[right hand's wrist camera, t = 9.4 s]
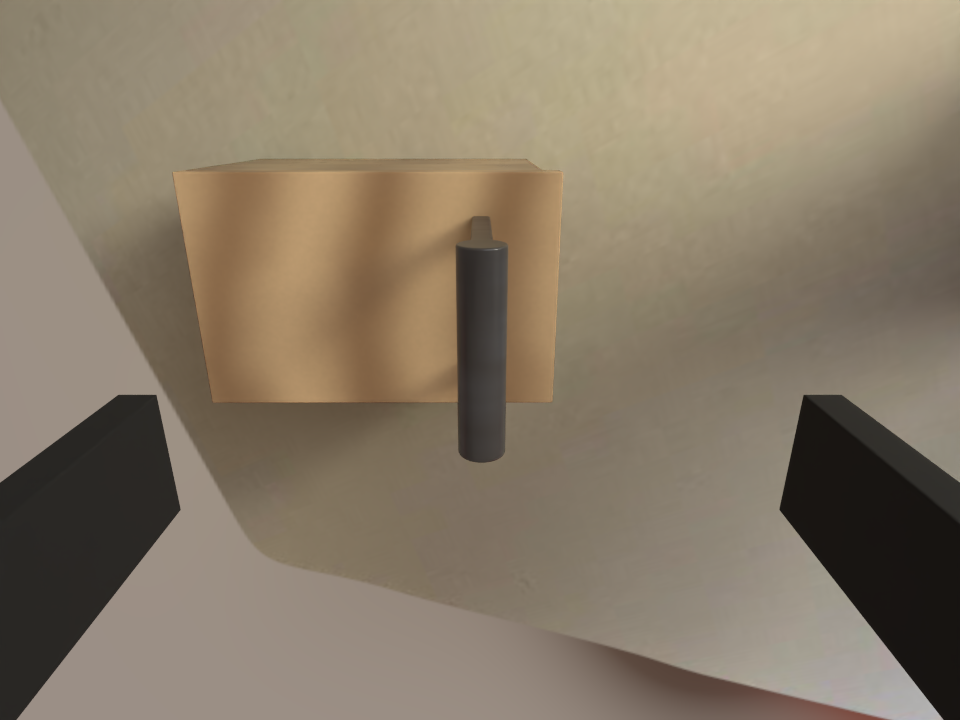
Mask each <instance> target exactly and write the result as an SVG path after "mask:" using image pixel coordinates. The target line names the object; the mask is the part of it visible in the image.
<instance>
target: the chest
mask: <svg viewBox="0 0 960 720" xmlns="http://www.w3.org/2000/svg"><path fill="white" fill-rule="evenodd" d="M185 171H543V170H541V169H540V168H538V167H537V166H535V165H534V164H532V163H531V162H530V161H528V160H527V159H258V160H252V161H245V162H238V163H231V164H225V165H218V166H211V167H205V168H198V169H191V170H185Z"/></svg>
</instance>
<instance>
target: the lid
mask: <svg viewBox="0 0 960 720" xmlns="http://www.w3.org/2000/svg"><path fill="white" fill-rule="evenodd" d="M172 174H173V180H174V185H175V191H176V197H177V202H178V208H179V214H180V220H181V225H182V231H183V237H184V242H185V248H186V254H187V259H188V265H189V271H190V277H191V282H192V288H193V294H194V299H195V305H196V311H197V316H198V322H199V328H200V334H201V339H202V345H203V351H204V356H205V362H206V368H207V373H208V379H209V385H210V390H211V396H212V402H213V403H317V402H458V450H459V453H460V455H461V456H462V457H463V458H465V459H466V460H469V461H473V462H491V461H495V460H497V459H499V458H500V457H502V456H503V454H504V452H505V418H506V402H552V398H553V377H554V356H555V335H556V314H557V293H558V272H559V251H560V230H561V209H562V188H563V172H561V171H177V172H173V173H172Z"/></svg>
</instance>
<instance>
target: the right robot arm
mask: <svg viewBox="0 0 960 720" xmlns="http://www.w3.org/2000/svg"><path fill="white" fill-rule="evenodd" d="M779 510H780V511H781V512H782V514H783V515H784V516H785V517H786V519H787V520H788V521H789V523H790V524H791V525H792V526H793V528H794V529H795V530H796V532H797V533H798V534H799V535H800V537H801V538H802V539H803V540H804V542H805V543H806V544H807V546H808V547H809V548H810V549H811V551H812V552H813V553H814V555H815V556H816V557H817V558H818V560H819V561H820V562H821V563H822V565H823V566H824V567H825V569H826V570H827V571H828V572H829V574H830V575H831V576H832V578H833V579H834V580H835V581H836V583H837V584H838V585H839V587H840V588H841V589H842V590H843V592H844V593H845V594H846V595H847V597H848V598H849V599H850V601H851V602H852V603H853V604H854V606H855V607H856V608H857V610H858V611H859V612H860V613H861V615H862V616H863V617H864V619H865V620H866V621H867V622H868V624H869V625H870V626H871V627H872V629H873V630H874V631H875V633H876V634H877V635H878V636H879V638H880V639H881V640H882V642H883V643H884V644H885V645H886V647H887V648H888V649H889V650H890V652H891V653H892V654H893V656H894V657H895V658H896V659H897V661H898V662H899V663H900V665H901V666H902V667H903V668H904V670H905V671H906V672H907V674H908V675H909V676H910V677H911V679H912V680H913V681H914V682H915V684H916V685H917V686H918V688H919V689H920V690H921V691H922V693H923V694H924V695H925V697H926V698H927V699H928V700H929V702H930V703H931V704H932V705H933V707H934V708H935V709H936V711H937V712H938V713H939V714H940V716H941V717H942V718H943V720H960V483H959V482H958V481H957V480H955V479H954V478H953V477H951V476H950V475H949V474H947V473H946V472H945V471H943V470H942V469H941V468H939V467H938V466H937V465H935V464H934V463H932V462H931V461H930V460H928V459H927V458H926V457H924V456H923V455H922V454H920V453H919V452H918V451H916V450H915V449H914V448H912V447H911V446H910V445H908V444H907V443H906V442H904V441H903V440H901V439H900V438H899V437H897V436H896V435H895V434H893V433H892V432H891V431H889V430H888V429H887V428H885V427H884V426H883V425H881V424H880V423H879V422H877V421H876V420H875V419H873V418H872V417H871V416H869V415H868V414H866V413H865V412H864V411H862V410H861V409H860V408H858V407H857V406H856V405H854V404H853V403H852V402H850V401H849V400H848V399H846V398H845V397H844V396H842V395H804V396H803V401H802V405H801V410H800V415H799V420H798V424H797V429H796V434H795V439H794V443H793V448H792V453H791V457H790V462H789V467H788V472H787V476H786V481H785V486H784V491H783V495H782V500H781V505H780V509H779ZM179 511H180V505H179V500H178V495H177V491H176V486H175V481H174V476H173V472H172V467H171V462H170V457H169V453H168V448H167V443H166V439H165V434H164V429H163V424H162V420H161V415H160V410H159V405H158V401H157V396H156V395H118V396H116V397H115V398H114V399H112V400H111V401H110V402H108V403H107V404H106V405H104V406H103V407H102V408H100V409H99V410H98V411H96V412H95V413H94V414H92V415H91V416H89V417H88V418H87V419H86V420H84V421H83V422H81V423H80V424H79V425H77V426H76V427H75V428H73V429H72V430H71V431H69V432H68V433H67V434H65V435H64V436H63V437H61V438H60V439H59V440H57V441H56V442H55V443H53V444H52V445H50V446H49V447H48V448H46V449H45V450H44V451H42V452H41V453H40V454H38V455H37V456H36V457H34V458H33V459H32V460H30V461H29V462H28V463H26V464H25V465H24V466H22V467H21V468H19V469H18V470H17V471H15V472H14V473H13V474H11V475H10V476H9V477H7V478H6V479H5V480H3V481H2V482H1V483H0V720H16V719H17V718H18V717H19V716H20V714H21V713H22V712H23V711H24V709H25V708H26V707H27V705H28V704H29V703H30V702H31V700H32V699H33V698H34V696H35V695H36V694H37V693H38V691H39V690H40V689H41V688H42V686H43V685H44V684H45V682H46V681H47V680H48V679H49V677H50V676H51V675H52V674H53V672H54V671H55V670H56V668H57V667H58V666H59V665H60V663H61V662H62V661H63V659H64V658H65V657H66V656H67V654H68V653H69V652H70V650H71V649H72V648H73V647H74V645H75V644H76V643H77V642H78V640H79V639H80V638H81V636H82V635H83V634H84V633H85V631H86V630H87V629H88V627H89V626H90V625H91V624H92V622H93V621H94V620H95V618H96V617H97V616H98V615H99V613H100V612H101V611H102V610H103V608H104V607H105V606H106V604H107V603H108V602H109V600H110V599H111V598H112V597H113V595H114V594H115V593H116V592H117V590H118V589H119V588H120V587H121V585H122V584H123V583H124V581H125V580H126V579H127V578H128V576H129V575H130V574H131V572H132V571H133V570H134V569H135V567H136V566H137V565H138V563H139V562H140V561H141V560H142V558H143V557H144V556H145V555H146V553H147V552H148V551H149V549H150V548H151V547H152V546H153V544H154V543H155V542H156V540H157V539H158V538H159V537H160V535H161V534H162V533H163V531H164V530H165V529H166V528H167V526H168V525H169V524H170V523H171V521H172V520H173V519H174V517H175V516H176V515H177V514H178V512H179Z"/></svg>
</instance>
